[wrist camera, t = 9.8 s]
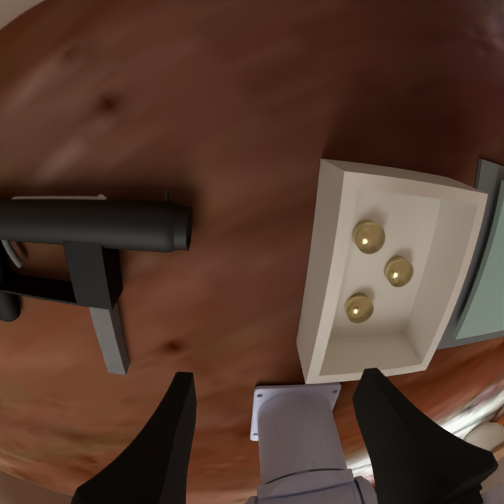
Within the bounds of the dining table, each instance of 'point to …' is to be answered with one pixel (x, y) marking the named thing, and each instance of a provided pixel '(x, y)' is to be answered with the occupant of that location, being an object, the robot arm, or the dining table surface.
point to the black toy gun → (87, 254)
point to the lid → (487, 285)
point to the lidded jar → (488, 438)
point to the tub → (372, 268)
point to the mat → (476, 252)
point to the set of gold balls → (395, 270)
